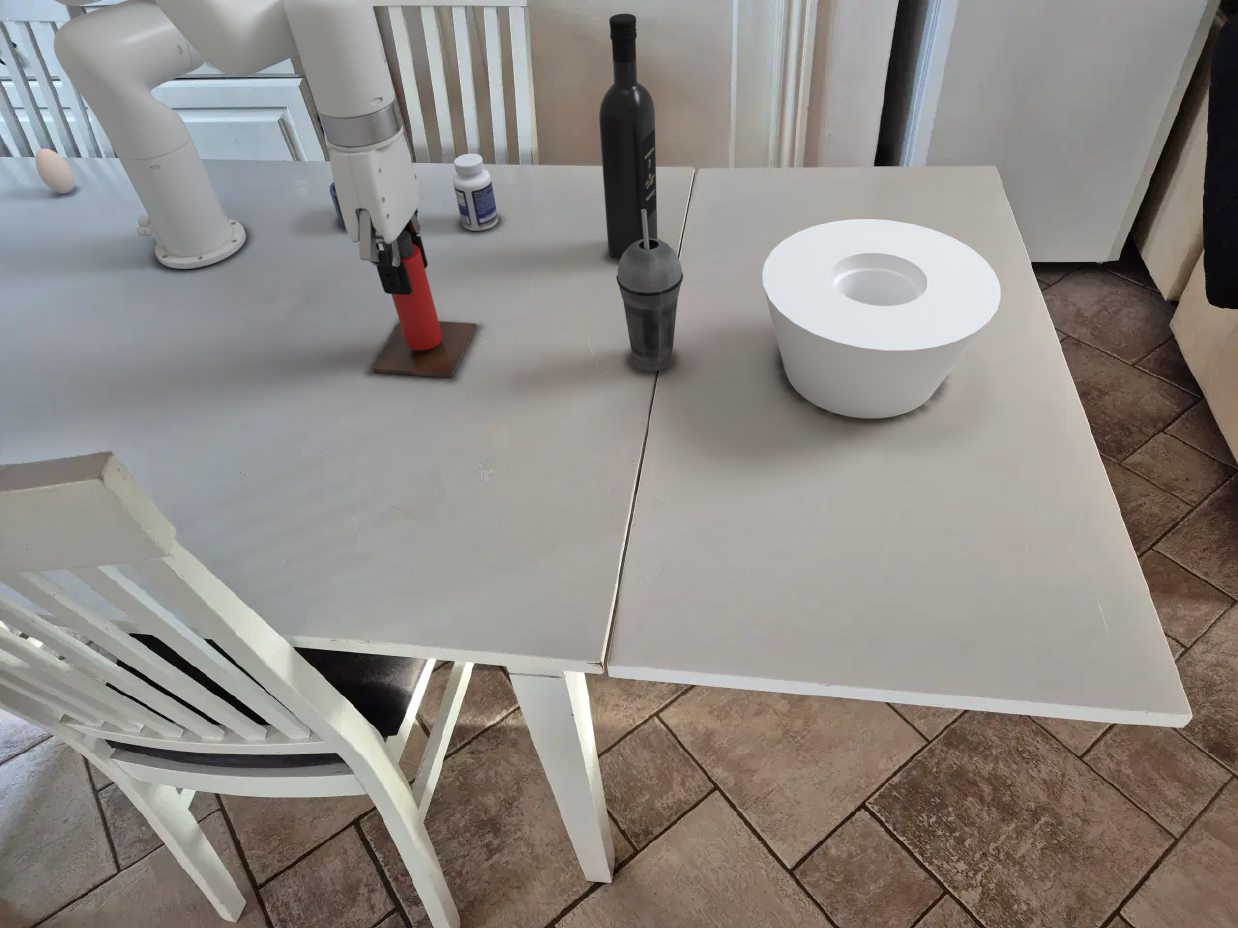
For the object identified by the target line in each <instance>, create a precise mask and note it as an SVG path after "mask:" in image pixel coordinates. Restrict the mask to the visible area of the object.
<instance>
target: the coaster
mask: <svg viewBox="0 0 1238 928" xmlns="http://www.w3.org/2000/svg"><path fill="white" fill-rule="evenodd" d="M438 321H439V325H440V328H441V332H442V340H441V342H440V343H439V344H438V345H437V346H435V347H433V348H431V349H428V350H414V349H411V348H410V347H408V345H407V343H406V340H405V337H404V334H403V330H402V327H401V324H400V322H399V323H398V325H397V326H396V328H395V329H394V331H393V333H392V334H391V337H390V338H389V340H388V341H387V343H386V345H385V346H384V347H383V350H382V352H381V353H380V355H379V356H378V359H377V360H376V362H375V363H374V365H373V367H372V371H373V373H381V374H391V375H393V374H394V375H406V376H421V377H433V378H434V377H435V378H447V379H453V378H454V376H455V374H456V371H457V369H458V367H459V365H460V364H461V362H462V359H463V357H464V355H465V353H466V351H467V349H468V346H469V344H470V343H471V340H472V338H473V337H474V334H475V332H476V330H477V323H476V322H475V323H474V322H459V321H458V322H457V321H456V322H455V321H441V320H438Z"/></svg>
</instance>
